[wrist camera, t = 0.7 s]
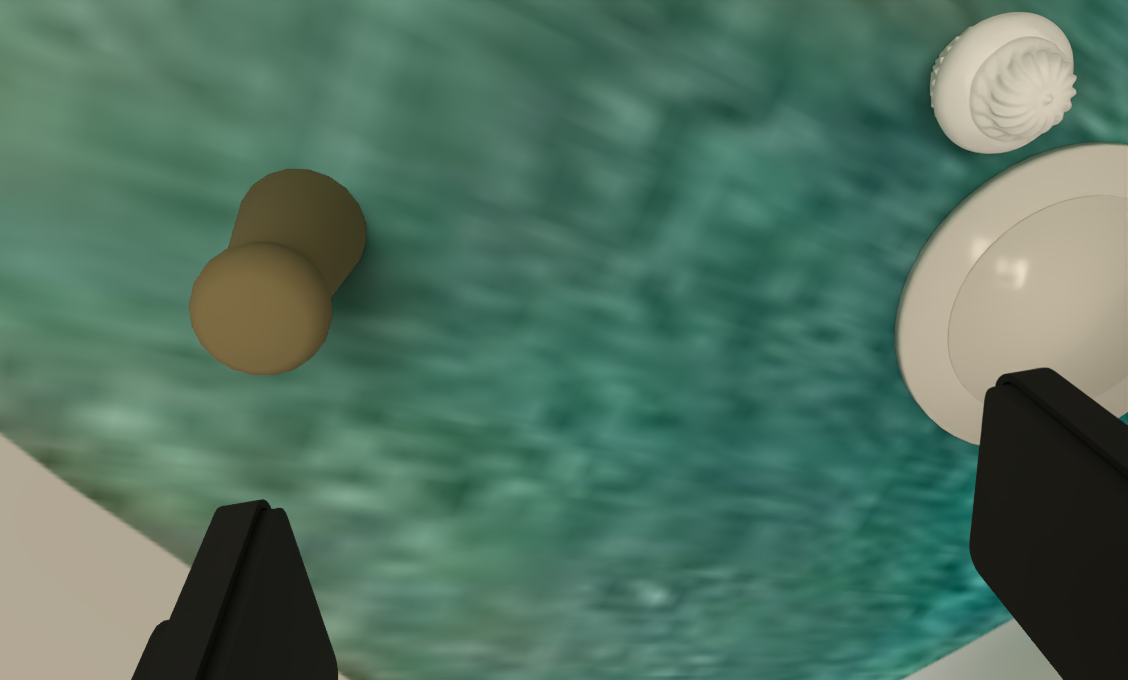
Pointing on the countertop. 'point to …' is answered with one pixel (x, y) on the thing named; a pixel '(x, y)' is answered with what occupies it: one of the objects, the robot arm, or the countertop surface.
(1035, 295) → the plate
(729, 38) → the countertop surface
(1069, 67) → the muffin
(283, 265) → the cork
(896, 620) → the countertop surface
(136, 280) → the countertop surface
